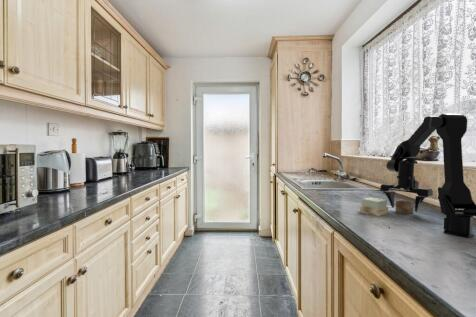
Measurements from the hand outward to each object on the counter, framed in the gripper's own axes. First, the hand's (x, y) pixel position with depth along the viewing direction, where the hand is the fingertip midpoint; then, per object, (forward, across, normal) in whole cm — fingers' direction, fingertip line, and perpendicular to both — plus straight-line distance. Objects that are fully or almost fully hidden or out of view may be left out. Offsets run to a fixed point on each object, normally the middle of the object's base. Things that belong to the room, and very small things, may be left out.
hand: (404, 209), depth 117 cm
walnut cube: (+1, 0, 0) cm, 1 cm away
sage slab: (-2, +7, +12) cm, 14 cm away
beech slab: (+2, +7, +12) cm, 14 cm away
